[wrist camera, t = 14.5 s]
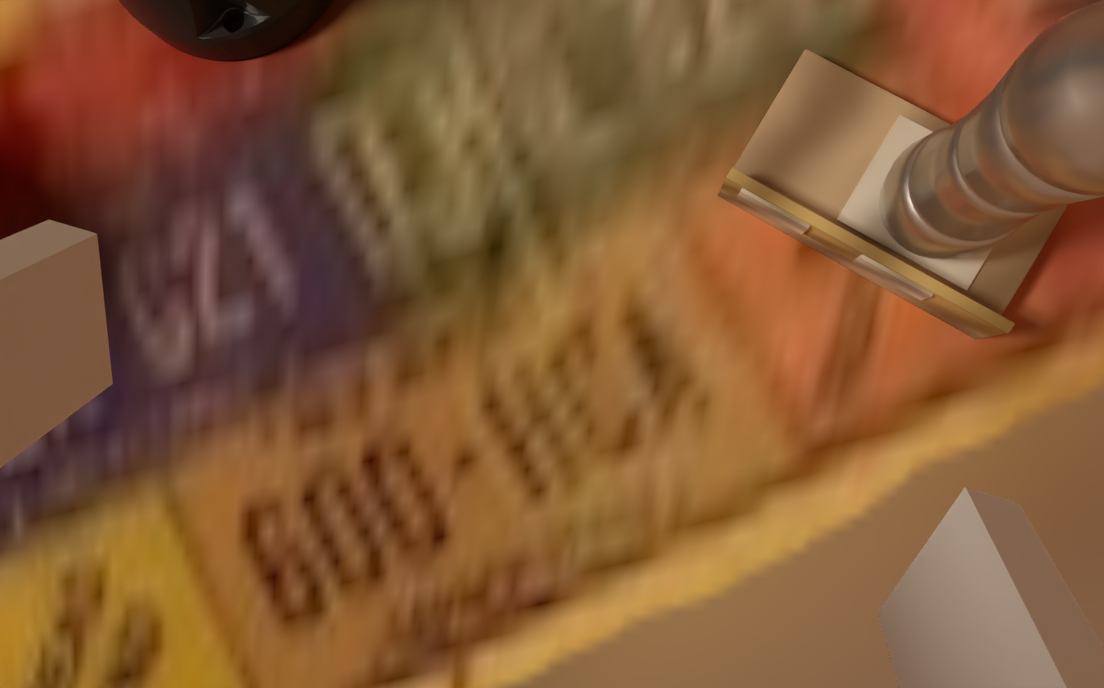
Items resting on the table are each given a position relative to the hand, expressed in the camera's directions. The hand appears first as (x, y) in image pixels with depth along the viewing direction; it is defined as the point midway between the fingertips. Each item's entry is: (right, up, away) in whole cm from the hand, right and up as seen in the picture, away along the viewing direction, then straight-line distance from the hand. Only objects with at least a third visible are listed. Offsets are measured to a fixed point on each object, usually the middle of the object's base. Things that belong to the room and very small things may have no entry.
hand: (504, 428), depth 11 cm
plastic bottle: (+21, +9, +28) cm, 36 cm away
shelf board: (+19, +10, +29) cm, 36 cm away
